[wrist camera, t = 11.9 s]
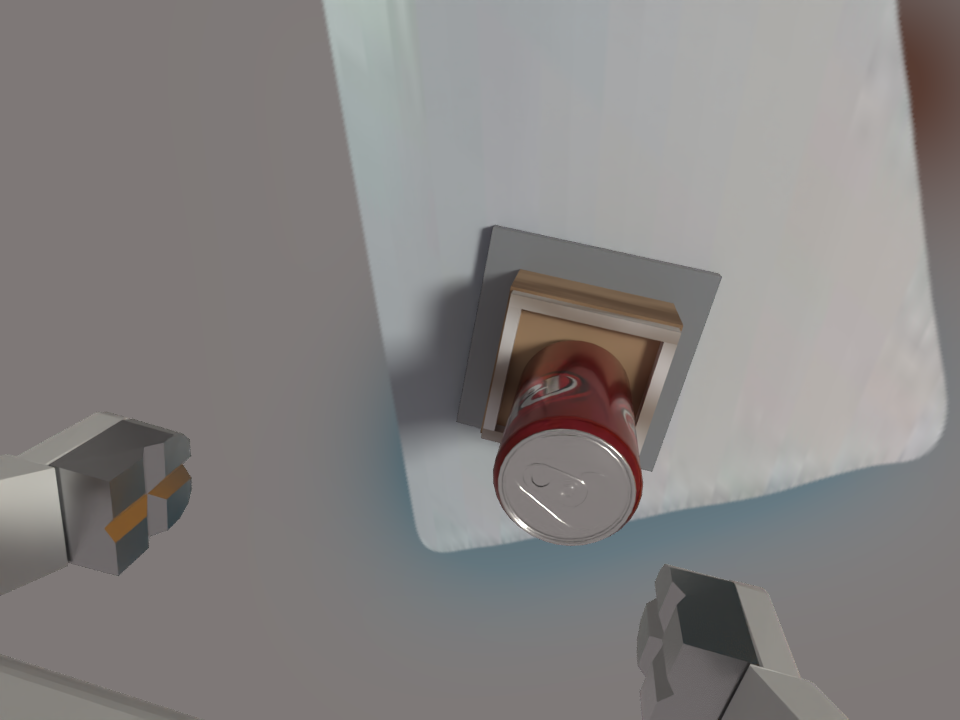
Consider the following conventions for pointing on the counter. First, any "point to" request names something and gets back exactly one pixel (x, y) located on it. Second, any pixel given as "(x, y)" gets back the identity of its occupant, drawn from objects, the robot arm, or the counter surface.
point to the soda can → (570, 447)
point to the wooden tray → (584, 317)
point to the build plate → (594, 268)
